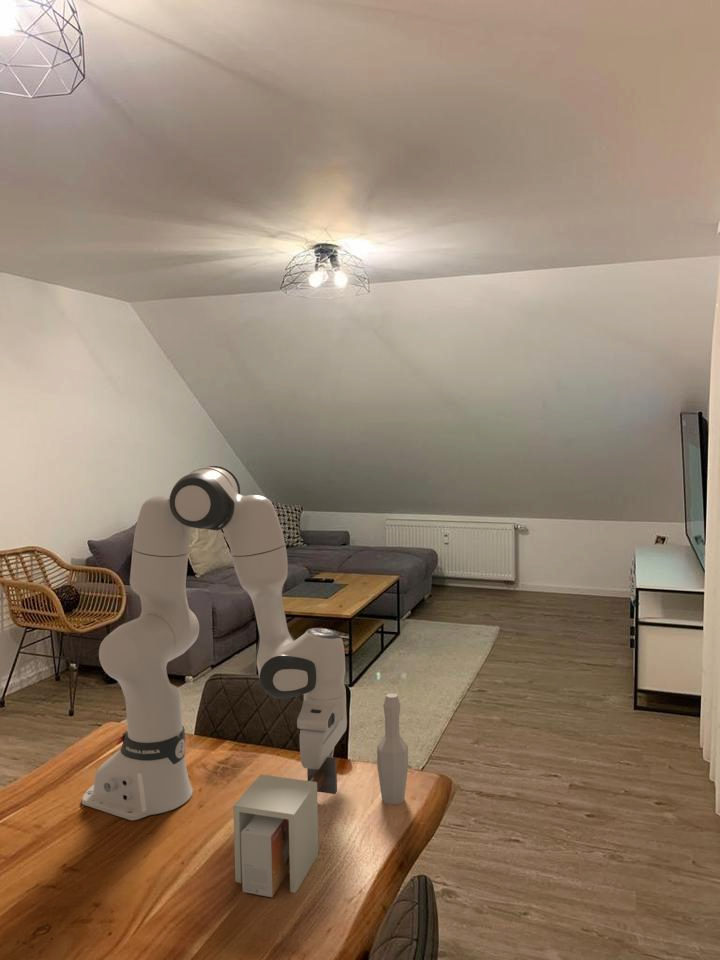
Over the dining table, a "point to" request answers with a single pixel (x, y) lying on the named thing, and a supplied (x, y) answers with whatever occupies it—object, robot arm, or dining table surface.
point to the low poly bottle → (392, 755)
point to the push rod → (325, 776)
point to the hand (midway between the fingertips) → (326, 769)
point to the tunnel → (286, 803)
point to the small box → (264, 855)
